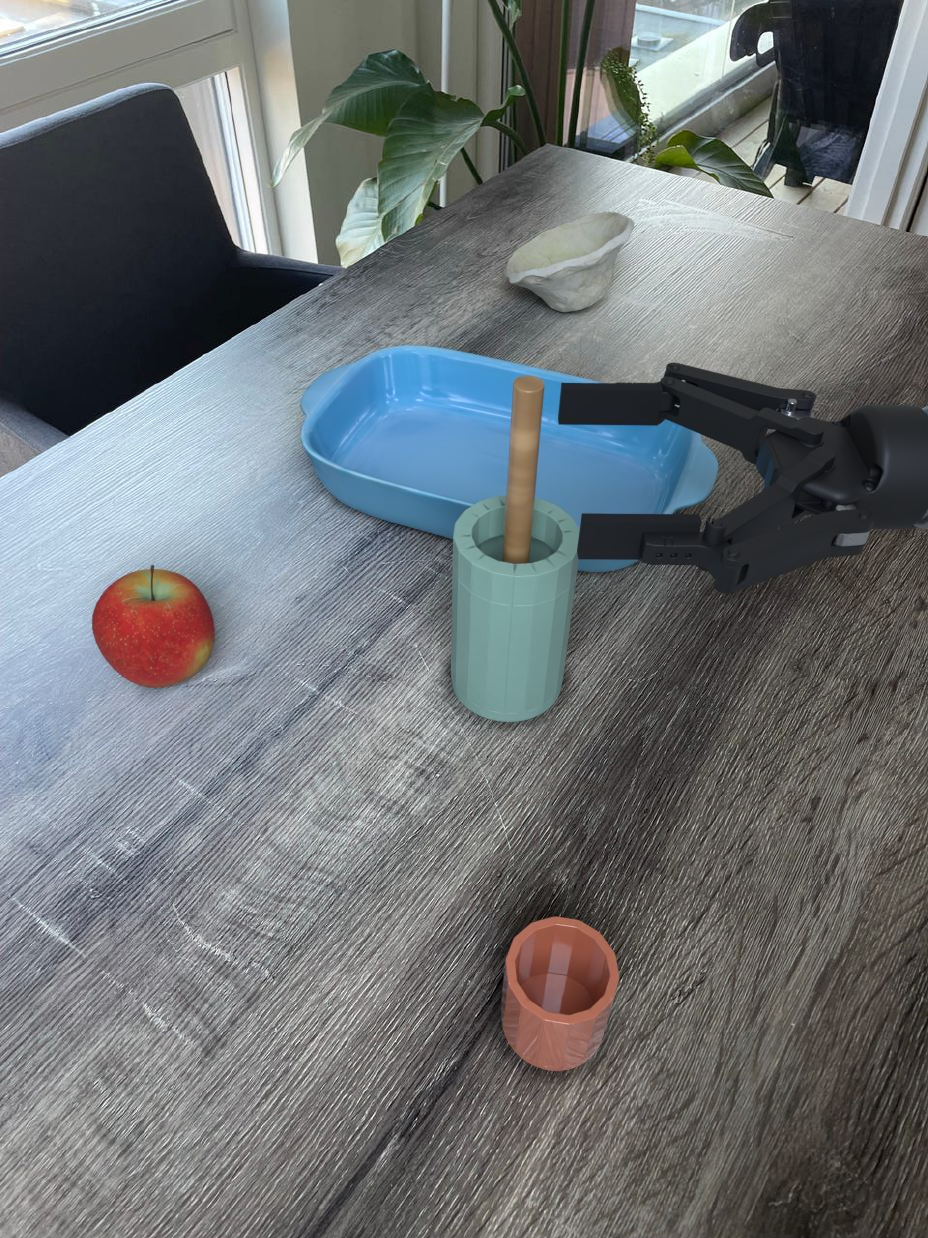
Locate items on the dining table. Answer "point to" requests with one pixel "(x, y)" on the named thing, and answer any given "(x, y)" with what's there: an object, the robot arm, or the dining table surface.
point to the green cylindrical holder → (511, 611)
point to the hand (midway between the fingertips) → (568, 464)
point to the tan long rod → (522, 467)
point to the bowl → (571, 260)
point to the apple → (154, 627)
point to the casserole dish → (482, 444)
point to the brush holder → (558, 992)
